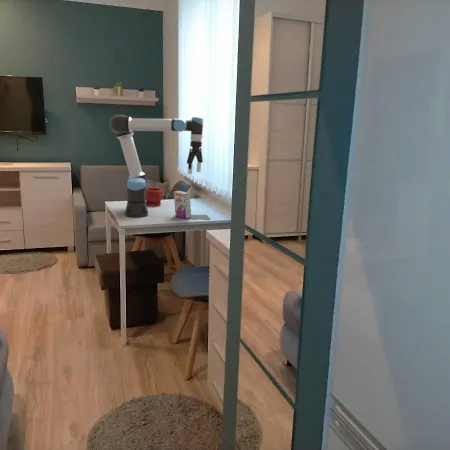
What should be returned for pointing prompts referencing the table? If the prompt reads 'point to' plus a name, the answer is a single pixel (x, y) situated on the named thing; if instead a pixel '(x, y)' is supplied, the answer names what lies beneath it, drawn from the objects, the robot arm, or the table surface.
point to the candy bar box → (182, 204)
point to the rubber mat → (199, 217)
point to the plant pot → (154, 196)
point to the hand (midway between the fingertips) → (194, 172)
